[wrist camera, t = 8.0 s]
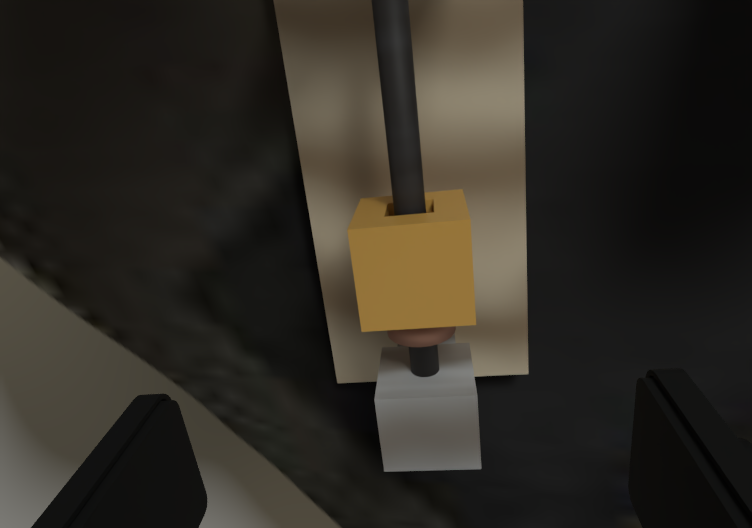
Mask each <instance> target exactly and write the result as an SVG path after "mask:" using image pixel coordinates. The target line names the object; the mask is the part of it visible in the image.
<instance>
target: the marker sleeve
mask: <svg viewBox="0 0 752 528" xmlns="http://www.w3.org/2000/svg"><path fill="white" fill-rule="evenodd" d="M425 204H426V213H421V214H409V215H398V216H394V206H393V197H392V196H382V197H371V198H361V199H360V202H359V204H358V206H357V208H356V211H355V213H354V215H353V218H352V220H351V222H350V224H349V227H348V229H347V232H348V239H349V246H350V253H351V260H352V267H353V274H354V281H355V289H356V296H357V303H358V310H359V317H360V324H361V331H362V332H370V331H386V330H403V329H419V328H436V327H452V326H469V325H476V312H475V293H474V274H473V256H472V237H471V219H470V215H469V212H468V208H467V204H466V200H465V196H464V193H463V189H458V190H447V191H436V192H425Z"/></svg>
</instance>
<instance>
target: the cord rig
mask: <svg viewBox="0 0 752 528" xmlns="http://www.w3.org/2000/svg"><path fill="white" fill-rule="evenodd" d="M273 1H274V7H275V13H276V19H277V25H278V31H279V37H280V43H281V49H282V55H283V61H284V67H285V73H286V79H287V85H288V91H289V97H290V103H291V109H292V114H293V120H294V126H295V132H296V138H297V144H298V150H299V156H300V162H301V168H302V174H303V180H304V186H305V192H306V198H307V204H308V210H309V216H310V222H311V228H312V234H313V240H314V246H315V252H316V258H317V264H318V270H319V276H320V282H321V288H322V294H323V300H324V306H325V312H326V318H327V324H328V330H329V336H330V342H331V348H332V354H333V360H334V366H335V372H336V378H337V383H354V382H375V381H377V385H376V392H375V398H374V401H375V408H376V416H377V423H378V430H379V437H380V444H381V451H382V459H383V466H384V472H391V471H427V470H463V469H481V454H480V436H479V418H478V401H477V391H476V384H475V377H477V376H498V375H518V374H528V318H527V250H526V181H525V113H524V45H523V0H273ZM458 189H463V193H464V196H465V200H466V204H467V208H468V212H469V215H470V219H471V237H472V256H473V274H474V293H475V312H476V325H469V326H452V327H436V328H419V329H403V330H386V331H370V332H362V331H361V324H360V317H359V310H358V303H357V296H356V289H355V281H354V274H353V267H352V260H351V253H350V246H349V239H348V232H347V229H348V227H349V224H350V222H351V220H352V218H353V215H354V213H355V211H356V208H357V206H358V204H359V202H360V199H361V198H371V197H382V196H392V197H393V206H394V216H398V215H409V214H421V213H426V204H425V192H436V191H447V190H458Z"/></svg>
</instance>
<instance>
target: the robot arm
mask: <svg viewBox="0 0 752 528" xmlns="http://www.w3.org/2000/svg"><path fill="white" fill-rule="evenodd" d="M628 487H629V494H630V499H631V502H632V505H633V507H634V509H635V512H636V514H637V516H638V518H639V521H640V523H641V525H642V527H643V528H752V444H751V443H750V442H749V441H747V440H745V439H743V438H737V437H736V436H735V434H734V433H733V432H732V430H731V429H730V428H729V427H728V425H727V424H726V423H725V421H724V420H723V419H722V418H721V416H720V415H719V414H718V413H717V411H716V410H715V409H714V407H713V406H712V405H711V404H710V402H709V401H708V400H707V398H706V397H705V396H704V395H703V393H702V392H701V391H700V390H699V388H698V387H697V386H696V384H695V383H694V382H693V381H692V379H691V378H690V377H689V375H688V374H687V373H686V372H685V371H684V370H683V369H680V368H675V369H655V370H649V371H648V372H647V374H646V378H639V379H638V380H637V385H636V397H635V409H634V421H633V434H632V446H631V458H630V471H629V485H628ZM206 508H207V494H206V491H205V488H204V484H203V481H202V478H201V475H200V471H199V468H198V465H197V462H196V459H195V456H194V452H193V449H192V446H191V443H190V440H189V436H188V433H187V430H186V427H185V424H184V421H183V417H182V414H181V411H180V408H179V405H178V403H177V402H176V401H174V400H171V398H170V397H169V396H168V395H166V394H152V395H151V394H150V395H139V396H137V397H136V398H135V399H134V400H133V402H131V404H130V405H129V406H128V407H127V409H126V410H125V411H124V412H123V414H122V415H121V416H120V418H119V419H118V420H117V421H116V422H115V424H114V425H113V426H112V427H111V429H110V430H109V431H108V432H107V434H106V435H105V436H104V437H103V439H102V440H101V441H100V442H99V444H98V445H97V446H96V447H95V449H94V450H93V451H92V452H91V454H90V455H89V456H88V457H87V458H86V460H85V461H84V462H83V464H82V465H81V466H80V467H79V468H78V470H77V471H76V472H75V474H74V475H73V476H72V477H71V479H70V480H69V481H68V482H67V484H66V485H65V486H64V487H63V488H62V490H61V491H60V492H59V493H58V495H57V496H56V497H55V498H54V500H53V501H52V502H51V504H50V505H49V506H48V507H47V508H46V510H45V511H44V512H43V514H42V515H41V516H40V517H39V518H38V520H37V521H36V522H35V523H34V525H33V526H32V527H31V528H199V525H200V523H201V521H202V519H203V516H204V514H205V512H206Z"/></svg>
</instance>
